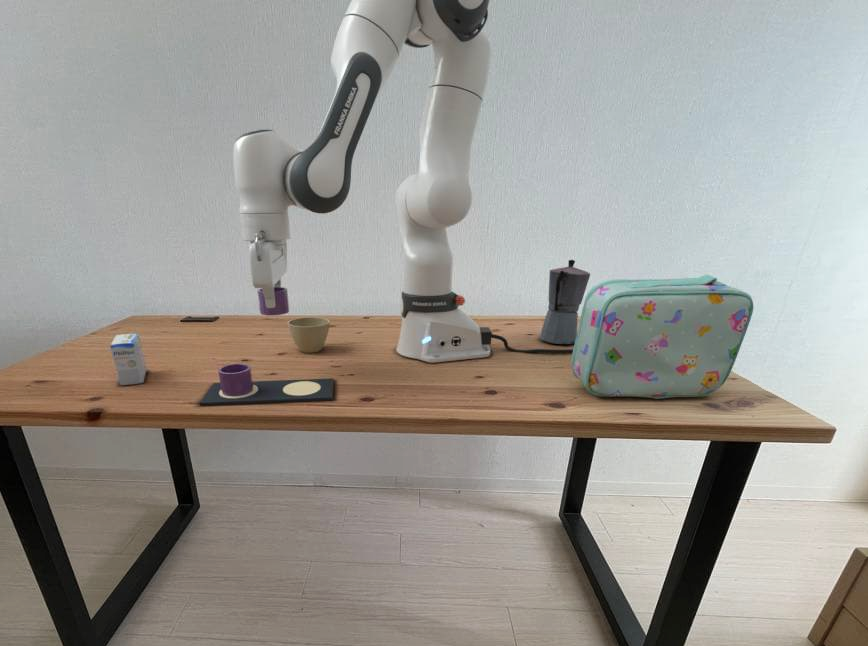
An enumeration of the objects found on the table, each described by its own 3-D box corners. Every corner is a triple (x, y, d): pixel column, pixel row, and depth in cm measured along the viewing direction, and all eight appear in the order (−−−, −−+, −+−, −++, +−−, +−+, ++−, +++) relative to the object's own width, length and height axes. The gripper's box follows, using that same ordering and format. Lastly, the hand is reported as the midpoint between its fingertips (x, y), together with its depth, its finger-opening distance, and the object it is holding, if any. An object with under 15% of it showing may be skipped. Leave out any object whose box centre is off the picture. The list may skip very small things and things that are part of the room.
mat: (333, 380, 93) (333, 377, 93) (332, 400, 84) (332, 396, 84) (214, 385, 92) (213, 382, 91) (199, 405, 82) (199, 402, 82)
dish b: (255, 384, 90) (252, 362, 88) (250, 395, 85) (247, 373, 83) (226, 385, 89) (222, 363, 88) (218, 397, 84) (214, 374, 82)
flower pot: (313, 358, 106) (311, 328, 103) (281, 352, 111) (278, 323, 108) (339, 347, 114) (337, 319, 111) (308, 342, 119) (306, 315, 116)
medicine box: (124, 373, 98) (114, 334, 95) (147, 371, 100) (138, 332, 96) (120, 386, 92) (109, 344, 88) (144, 383, 93) (134, 342, 90)
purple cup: (291, 308, 95) (288, 286, 93) (287, 315, 90) (285, 291, 88) (262, 309, 95) (260, 287, 93) (257, 315, 89) (254, 292, 87)
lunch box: (696, 380, 91) (729, 269, 82) (733, 400, 81) (774, 278, 73) (563, 381, 91) (581, 271, 82) (584, 402, 82) (607, 280, 73)
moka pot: (583, 336, 120) (597, 258, 112) (571, 352, 108) (585, 265, 100) (546, 332, 125) (557, 256, 117) (530, 346, 113) (541, 262, 105)
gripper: (274, 233, 76) (283, 314, 82) (289, 226, 95) (295, 293, 101) (236, 234, 76) (247, 315, 82) (258, 227, 95) (266, 294, 100)
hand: (274, 303), depth 91 cm, fingers closed on purple cup, 6 cm apart
